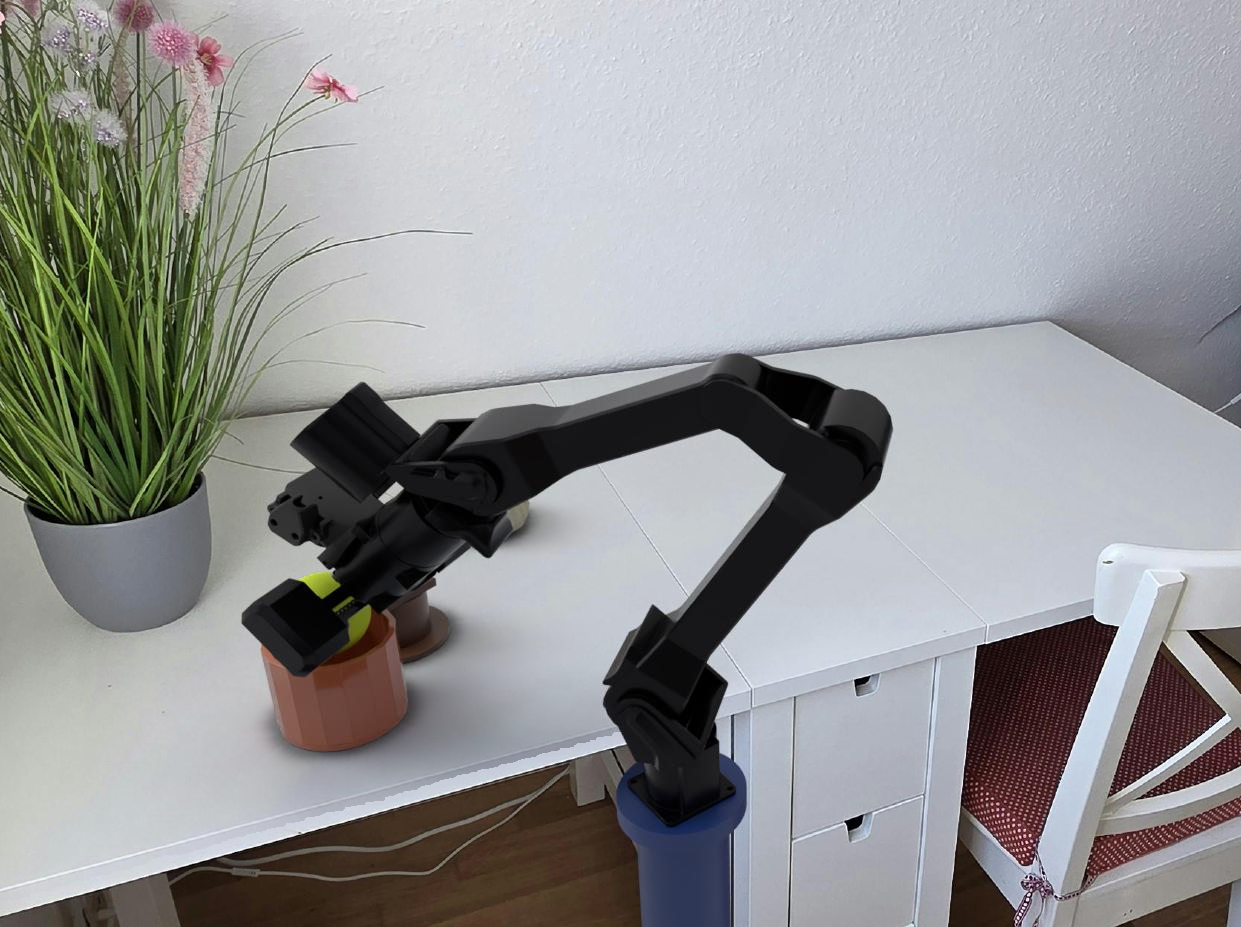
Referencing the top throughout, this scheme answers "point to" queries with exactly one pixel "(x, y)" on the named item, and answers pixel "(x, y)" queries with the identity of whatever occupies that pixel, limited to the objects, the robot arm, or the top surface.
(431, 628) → the ball stand
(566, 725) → the top surface
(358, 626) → the tennis ball
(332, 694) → the terracotta pot
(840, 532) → the top surface
